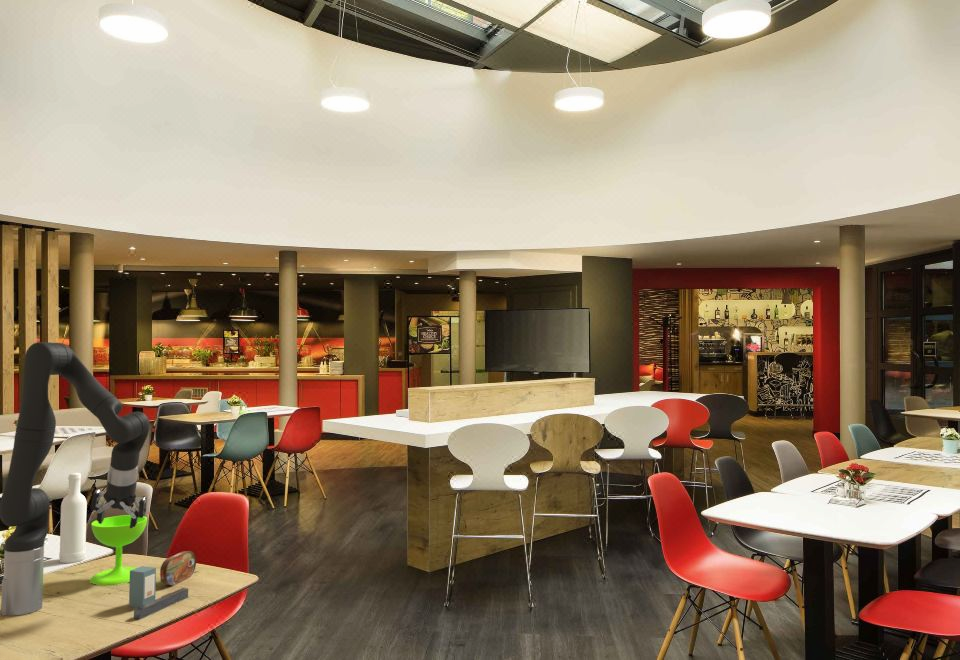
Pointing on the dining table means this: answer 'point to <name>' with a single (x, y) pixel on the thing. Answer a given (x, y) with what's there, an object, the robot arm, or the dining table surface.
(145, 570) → the carton
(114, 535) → the wineglass
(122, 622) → the dining table surface
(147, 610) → the price rail
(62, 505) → the bottle
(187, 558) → the tin
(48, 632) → the dining table surface
